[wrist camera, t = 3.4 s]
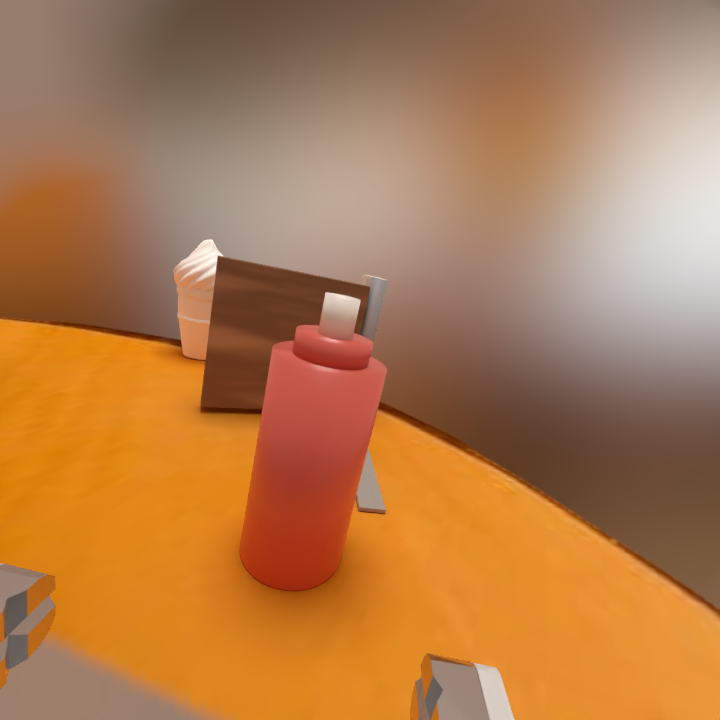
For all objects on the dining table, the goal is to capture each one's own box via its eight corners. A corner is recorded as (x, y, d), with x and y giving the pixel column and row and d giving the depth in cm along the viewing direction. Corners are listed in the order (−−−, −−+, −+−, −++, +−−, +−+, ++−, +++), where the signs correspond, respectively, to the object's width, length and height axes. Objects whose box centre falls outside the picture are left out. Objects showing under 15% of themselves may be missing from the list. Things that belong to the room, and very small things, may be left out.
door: (201, 394, 38) (217, 254, 35) (334, 401, 44) (359, 283, 41) (200, 406, 35) (218, 256, 32) (343, 412, 42) (370, 286, 38)
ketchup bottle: (264, 609, 18) (323, 301, 14) (225, 527, 22) (262, 277, 19) (360, 566, 22) (426, 315, 18) (310, 504, 26) (355, 293, 22)
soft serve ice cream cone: (240, 364, 52) (256, 249, 48) (178, 366, 46) (191, 236, 42) (215, 346, 57) (228, 242, 54) (157, 346, 51) (167, 229, 48)
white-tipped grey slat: (355, 510, 26) (409, 290, 22) (336, 396, 48) (362, 274, 44) (387, 513, 27) (446, 298, 23) (354, 399, 48) (381, 278, 44)
